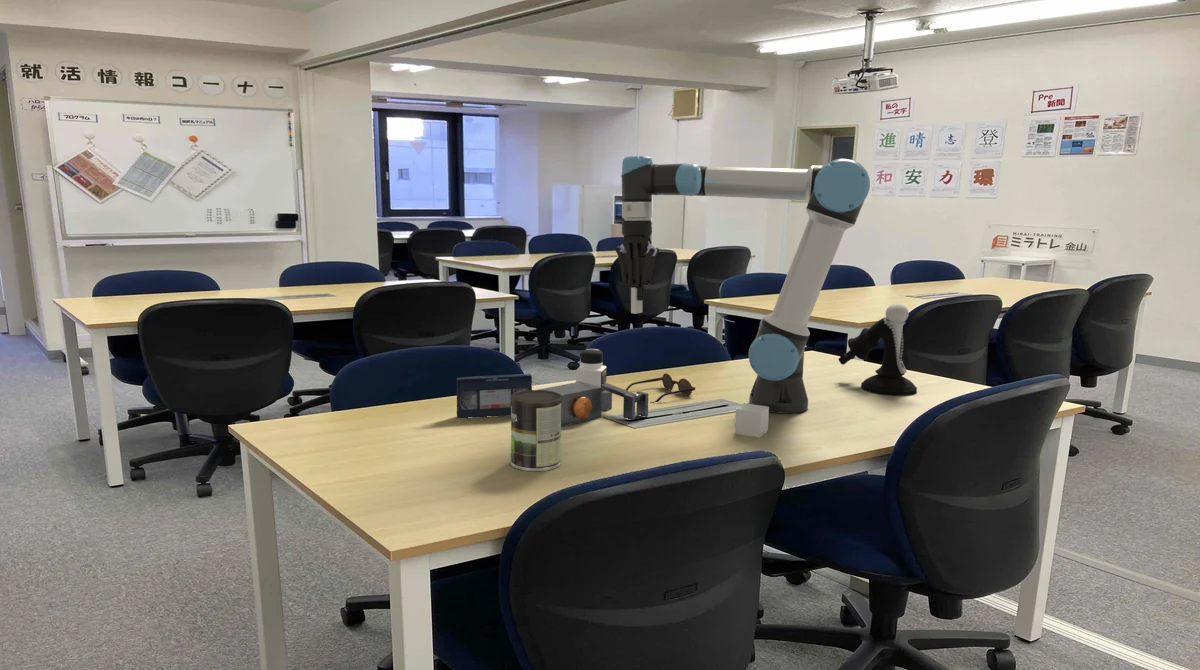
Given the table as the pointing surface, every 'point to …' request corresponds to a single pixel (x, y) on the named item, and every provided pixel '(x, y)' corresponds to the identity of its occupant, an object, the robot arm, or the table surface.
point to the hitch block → (573, 392)
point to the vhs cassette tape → (489, 394)
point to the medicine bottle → (591, 368)
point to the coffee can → (536, 430)
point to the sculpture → (892, 367)
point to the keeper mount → (626, 404)
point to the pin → (581, 407)
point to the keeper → (621, 392)
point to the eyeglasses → (670, 385)
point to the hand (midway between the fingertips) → (636, 312)
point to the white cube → (751, 420)
